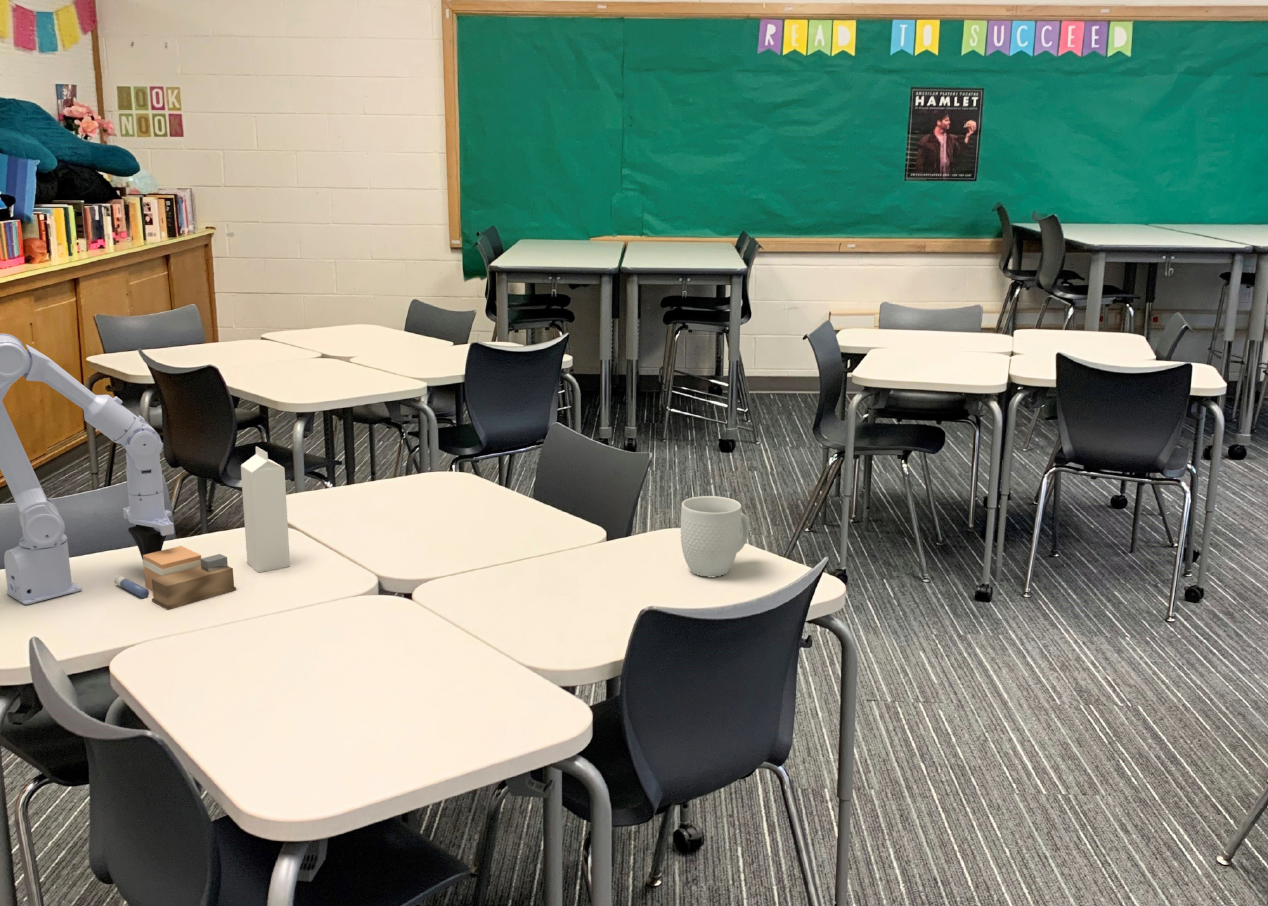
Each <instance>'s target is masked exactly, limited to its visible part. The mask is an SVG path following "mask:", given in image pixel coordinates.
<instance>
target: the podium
mask: <svg viewBox="0 0 1268 906" xmlns="http://www.w3.org/2000/svg"><path fill="white" fill-rule="evenodd" d="M152 588H153V591H152V597H153V598H151V602H152V603H155V604H156V605H158V606H160V607H162V608H164V609H165V610H168V611H169V610H172V609H175V608H179V607H182V606H186V605H190V604H192V603H196V602H199V601H203V600H206V599H210V598H213V597H216V596H220V595H223V594H228V593H231V592H234V591H236V590H237V587H236V586H235V579H234V569H233V567H230V566H229V565H228V567H226V568H222V569H218V570H214V571H211V572H207V571H205V570H203V569H201V566H199V567H195V568H191V569H188V570H184V571H180V572H176V573H172V574H169V575H165V576H161V577H157V578H154V579H152Z"/></svg>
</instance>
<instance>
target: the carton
mask: <svg viewBox="0 0 1268 906" xmlns="http://www.w3.org/2000/svg"><path fill="white" fill-rule="evenodd" d="M201 559H202V555H201V554H200V553H198V552H195V551H193V550H192V549H189V548H187V547H185V546H183V545H178V546H174V547H172V548H168V549H167V548H166V549H162V551H158V552H154V553H149V554H145V555H143V560H142V565H143V571H144V581H145V589H147V590H148V589H149V590H150V591H152V592H153V588H152V579H154V578H157V577H161V576H165V575H169V574H172V573H176V572H180V571H184V570H188V569H191V568H195V567H199V566H201Z"/></svg>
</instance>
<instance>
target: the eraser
mask: <svg viewBox="0 0 1268 906" xmlns="http://www.w3.org/2000/svg"><path fill="white" fill-rule="evenodd" d="M228 566H229V565H228V556H226V555H224V554H221V553H218V554H214V555H210V556H207V557H201V569H203V570H205V571H207V572H211V571H214V570H218V569H222V568H226V567H228Z"/></svg>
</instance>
